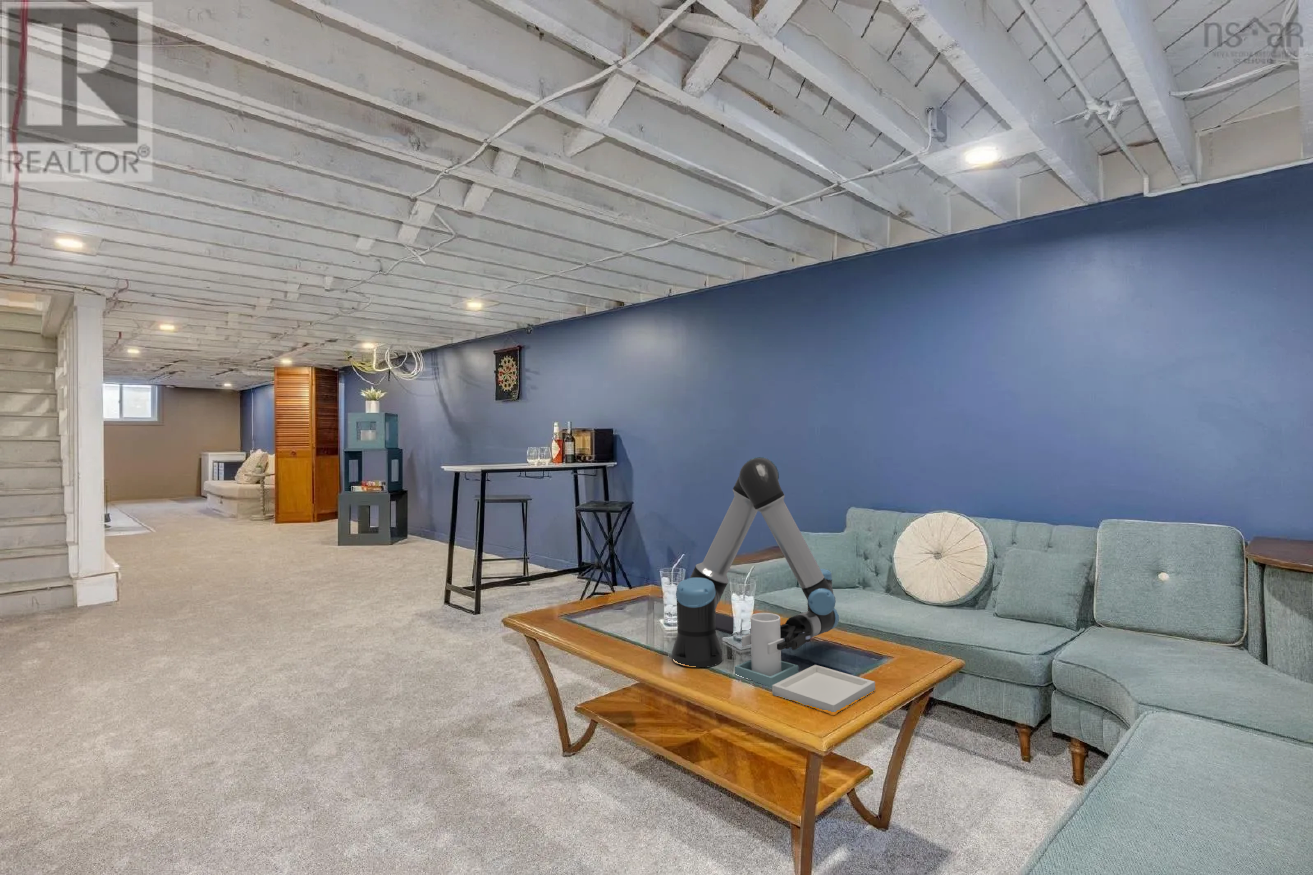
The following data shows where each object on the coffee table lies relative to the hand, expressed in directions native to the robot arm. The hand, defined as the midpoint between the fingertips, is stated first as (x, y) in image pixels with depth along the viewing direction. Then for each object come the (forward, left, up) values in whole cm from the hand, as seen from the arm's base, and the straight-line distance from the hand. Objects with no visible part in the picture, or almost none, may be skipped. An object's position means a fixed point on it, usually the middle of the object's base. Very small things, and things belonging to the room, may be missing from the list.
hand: (755, 645), depth 176 cm
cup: (+3, +3, -9) cm, 10 cm away
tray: (+16, -10, -9) cm, 21 cm away
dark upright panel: (-6, +51, -10) cm, 53 cm away
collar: (+3, +3, -9) cm, 11 cm away
